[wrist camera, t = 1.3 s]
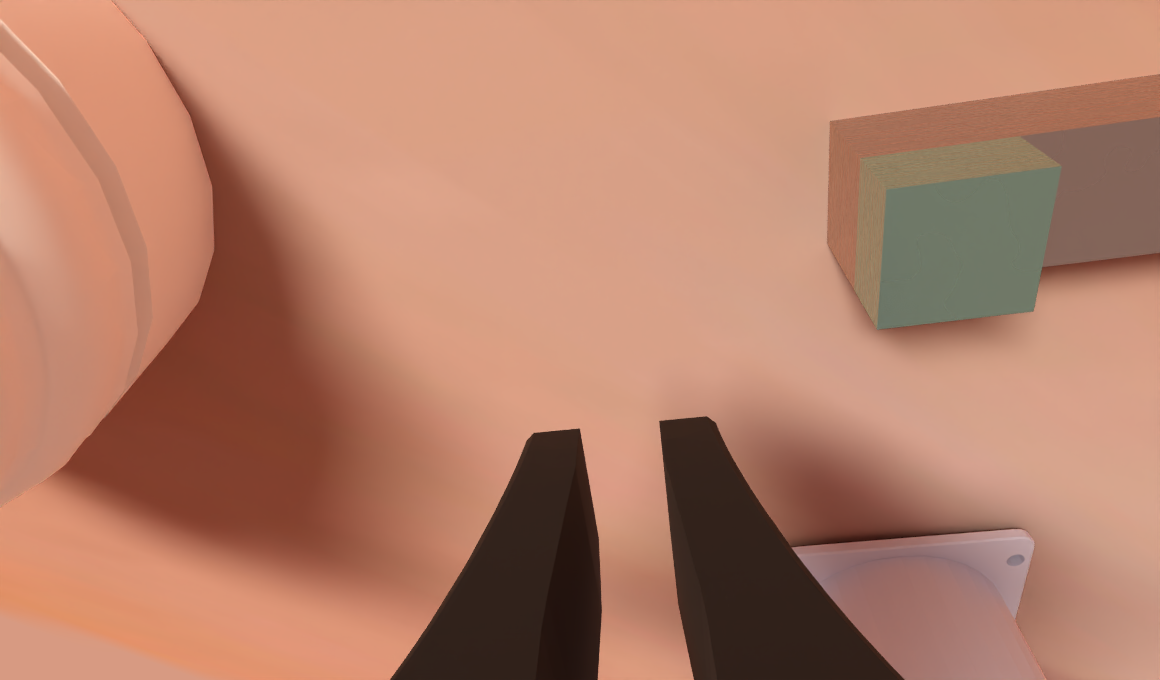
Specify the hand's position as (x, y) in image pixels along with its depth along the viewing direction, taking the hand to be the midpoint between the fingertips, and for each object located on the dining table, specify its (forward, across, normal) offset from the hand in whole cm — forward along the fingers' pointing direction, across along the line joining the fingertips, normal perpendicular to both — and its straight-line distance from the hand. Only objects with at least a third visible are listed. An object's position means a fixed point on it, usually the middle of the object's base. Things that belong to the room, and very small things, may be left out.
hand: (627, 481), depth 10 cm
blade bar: (+10, -12, 0) cm, 16 cm away
